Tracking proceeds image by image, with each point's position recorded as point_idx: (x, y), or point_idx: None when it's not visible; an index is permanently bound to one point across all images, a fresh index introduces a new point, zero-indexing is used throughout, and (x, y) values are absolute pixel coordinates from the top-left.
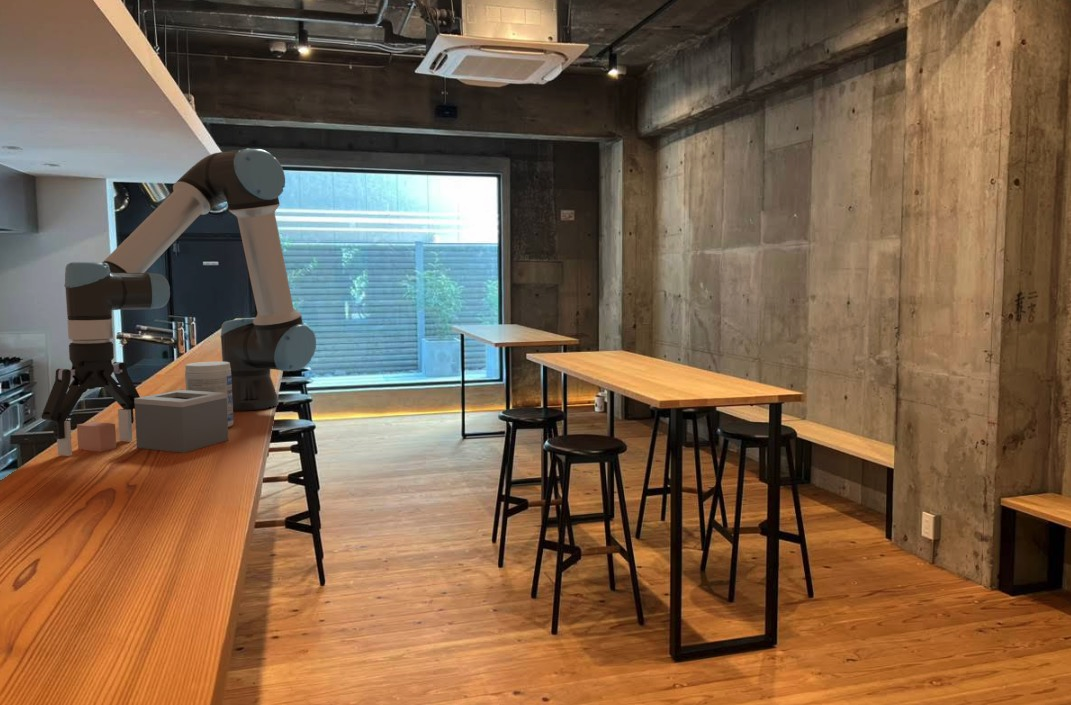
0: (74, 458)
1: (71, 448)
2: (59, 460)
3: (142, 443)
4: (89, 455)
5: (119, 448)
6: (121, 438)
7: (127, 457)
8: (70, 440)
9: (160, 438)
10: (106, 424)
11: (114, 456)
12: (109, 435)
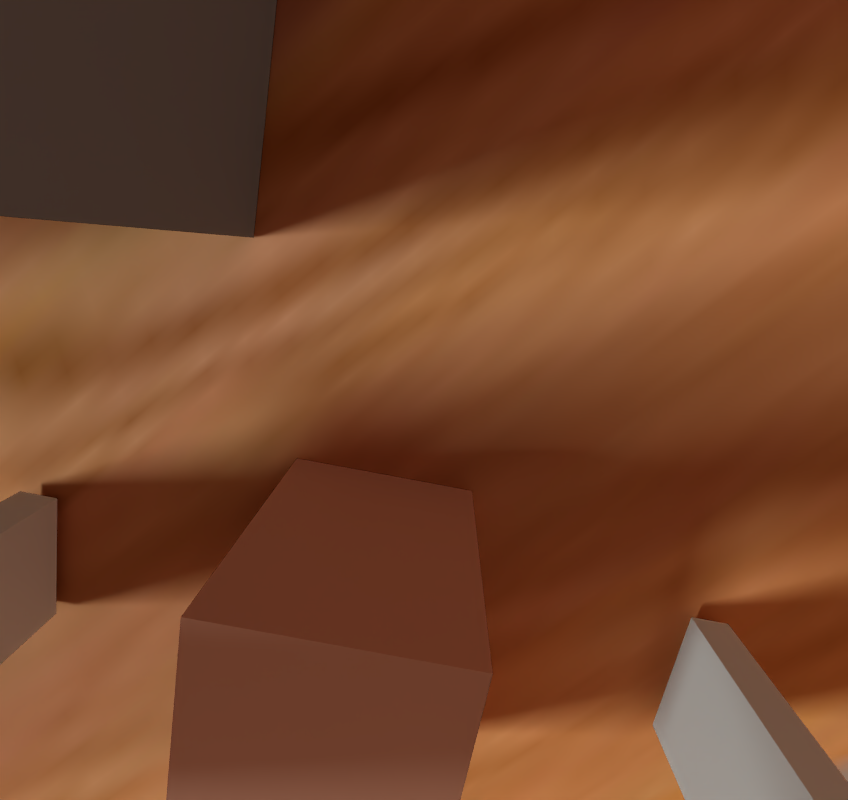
0: (755, 540)
1: (726, 661)
2: (834, 612)
3: (242, 131)
4: (630, 490)
5: (313, 409)
6: (43, 599)
7: (690, 5)
8: (780, 739)
9: None
10: (280, 700)
11: (652, 206)
12: (339, 545)
